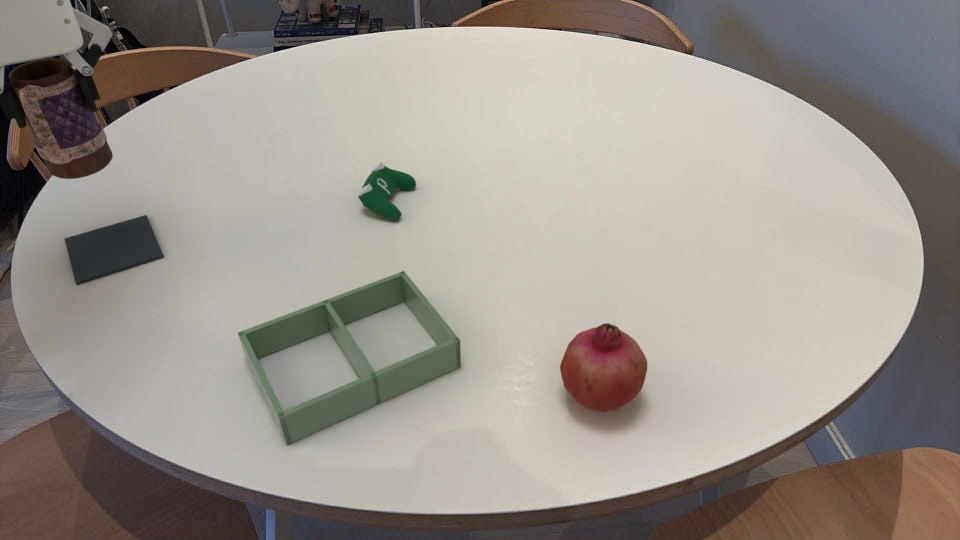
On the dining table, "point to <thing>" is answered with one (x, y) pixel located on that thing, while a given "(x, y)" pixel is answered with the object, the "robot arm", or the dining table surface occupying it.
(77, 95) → the mug
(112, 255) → the mat
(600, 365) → the fruit
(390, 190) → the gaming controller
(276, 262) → the dining table surface
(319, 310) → the divided box
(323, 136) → the dining table surface
